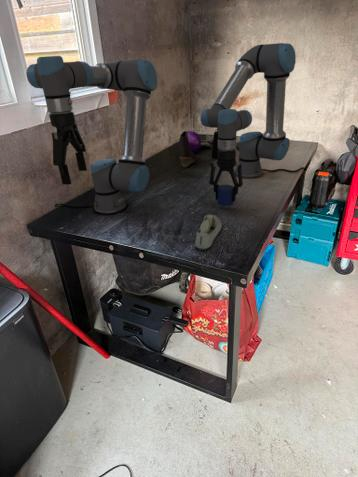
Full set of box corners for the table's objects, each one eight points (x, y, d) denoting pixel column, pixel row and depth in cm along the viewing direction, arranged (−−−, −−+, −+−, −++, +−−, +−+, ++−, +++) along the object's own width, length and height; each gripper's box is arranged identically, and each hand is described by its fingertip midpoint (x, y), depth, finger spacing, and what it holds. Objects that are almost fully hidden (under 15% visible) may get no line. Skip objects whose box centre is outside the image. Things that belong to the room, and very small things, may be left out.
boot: (197, 157, 223) (197, 126, 213) (191, 168, 203) (190, 135, 193) (185, 157, 225) (183, 126, 215) (178, 168, 205) (176, 135, 195)
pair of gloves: (199, 151, 237) (198, 143, 234) (184, 143, 257) (184, 136, 255) (235, 144, 246) (235, 137, 244) (218, 138, 267) (218, 131, 264)
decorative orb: (204, 151, 235) (204, 129, 228) (194, 156, 225) (193, 134, 217) (186, 149, 243) (186, 128, 235) (175, 154, 232) (174, 132, 224)
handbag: (222, 159, 215) (223, 120, 203) (210, 158, 220) (210, 119, 207) (235, 151, 230) (236, 114, 218) (223, 150, 234) (224, 113, 222)
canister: (217, 199, 152) (217, 184, 149) (232, 199, 152) (233, 184, 148) (217, 206, 146) (218, 190, 143) (234, 205, 146) (234, 190, 142)
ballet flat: (225, 222, 139) (225, 205, 135) (213, 252, 119) (212, 233, 115) (205, 220, 141) (205, 203, 137) (190, 250, 121) (189, 231, 117)
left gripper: (54, 119, 92) (70, 190, 102) (87, 105, 113) (98, 165, 124) (29, 120, 93) (48, 190, 104) (66, 106, 114) (79, 165, 125)
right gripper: (201, 150, 138) (201, 200, 149) (248, 152, 131) (245, 205, 142) (206, 145, 144) (206, 194, 155) (252, 148, 137) (249, 199, 148)
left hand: (75, 177), depth 114 cm, fingers open, 13 cm apart
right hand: (225, 199), depth 149 cm, fingers closed on canister, 7 cm apart
